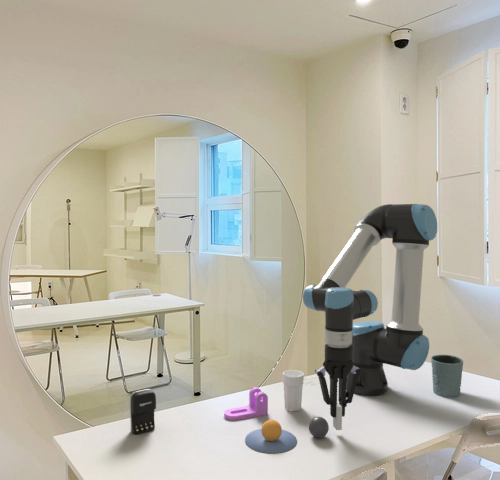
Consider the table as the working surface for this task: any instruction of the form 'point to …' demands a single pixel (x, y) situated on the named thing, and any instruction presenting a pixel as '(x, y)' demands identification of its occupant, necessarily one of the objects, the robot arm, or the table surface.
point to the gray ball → (318, 427)
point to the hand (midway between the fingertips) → (337, 427)
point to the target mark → (270, 442)
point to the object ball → (271, 430)
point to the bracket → (250, 406)
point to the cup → (293, 389)
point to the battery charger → (142, 411)
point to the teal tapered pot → (447, 375)
